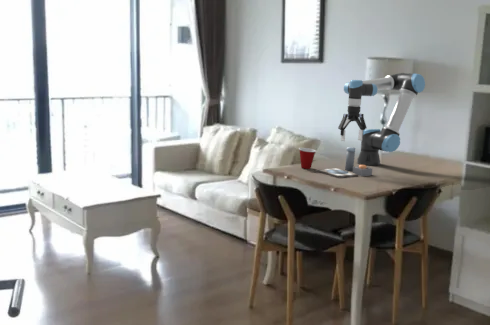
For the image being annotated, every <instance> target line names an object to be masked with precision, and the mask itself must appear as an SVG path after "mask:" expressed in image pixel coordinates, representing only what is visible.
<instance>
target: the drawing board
mask: <svg viewBox="0 0 490 325" xmlns="http://www.w3.org/2000/svg"><path fill="white" fill-rule="evenodd" d="M316 172H318V173H321V174H323V175H326V176H330V177H334V178H336V179H341V178H355V177H359V175H357V174H354V173H353V172H352V171H346V170H345V169H344V170H343V169H342V168H341V169H340V168H338V167H337V168H336V167H335V168H322V169H316Z"/></svg>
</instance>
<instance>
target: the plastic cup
mask: <svg viewBox="0 0 490 325" xmlns="http://www.w3.org/2000/svg"><path fill="white" fill-rule="evenodd" d="M298 151H299V157H300V158H299V159H300V161H299V162H300V166H301V169H303V168H304V170H311V169H312V164H313V162H314V157H315V154H316V153H317V149H316V150H315V149H313V148H308V147H298Z"/></svg>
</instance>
